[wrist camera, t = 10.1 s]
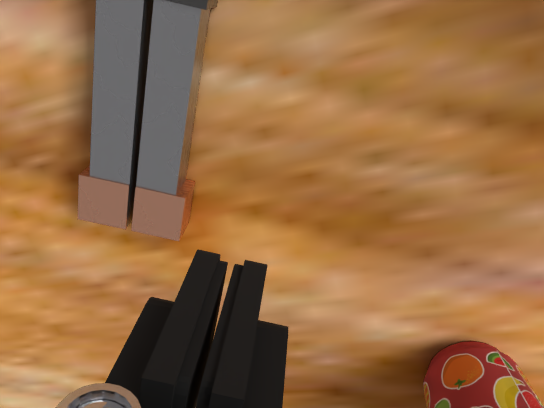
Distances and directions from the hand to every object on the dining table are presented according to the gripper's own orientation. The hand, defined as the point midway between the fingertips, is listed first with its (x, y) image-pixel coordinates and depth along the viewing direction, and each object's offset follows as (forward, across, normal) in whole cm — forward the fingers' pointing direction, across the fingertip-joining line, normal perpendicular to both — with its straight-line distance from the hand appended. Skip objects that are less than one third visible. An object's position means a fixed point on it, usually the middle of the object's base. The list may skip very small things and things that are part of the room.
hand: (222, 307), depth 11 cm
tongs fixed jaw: (+19, +9, -2) cm, 21 cm away
